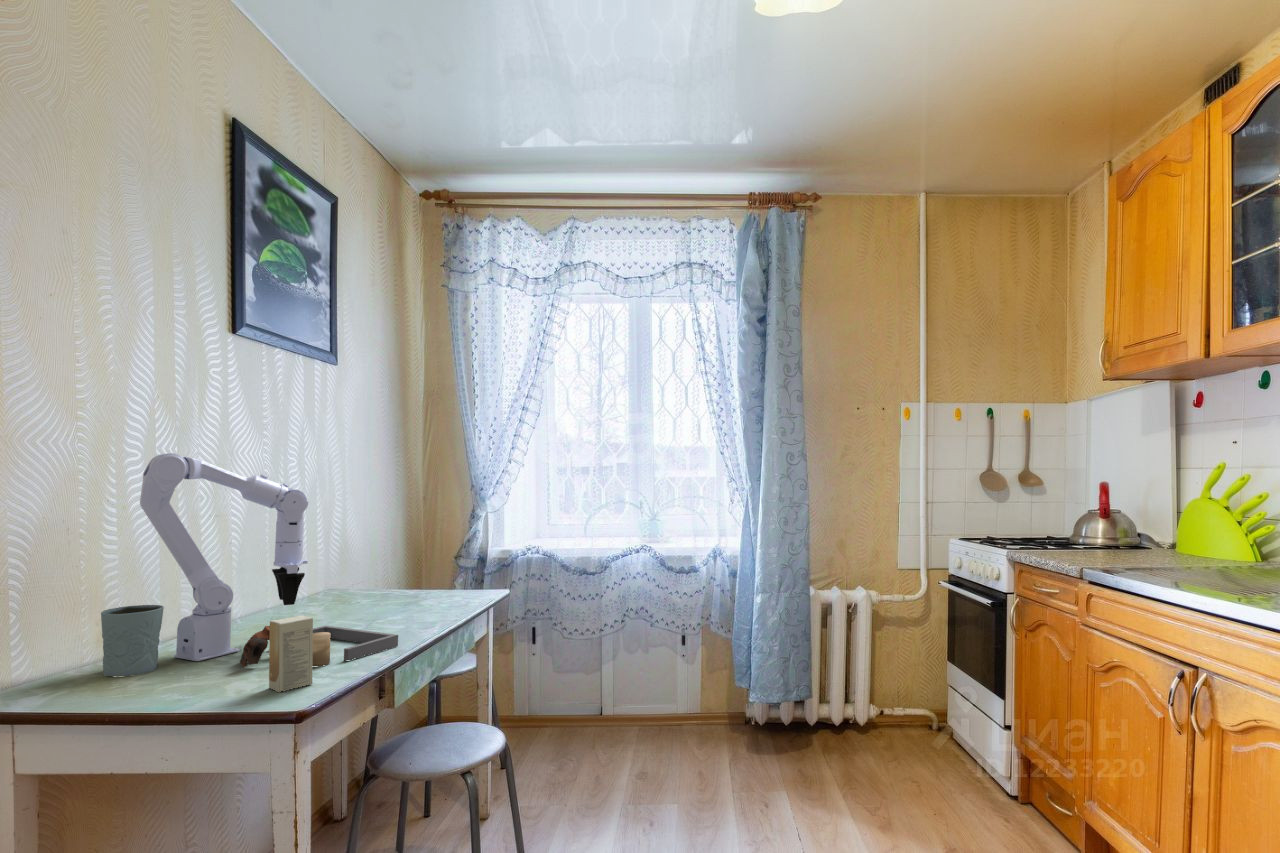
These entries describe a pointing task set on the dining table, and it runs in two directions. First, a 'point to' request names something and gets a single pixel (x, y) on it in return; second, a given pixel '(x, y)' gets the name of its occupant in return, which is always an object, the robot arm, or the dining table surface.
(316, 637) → the oak dowel
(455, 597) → the dining table surface
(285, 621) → the skincare box
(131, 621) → the grey green plant pot
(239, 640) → the dining table surface
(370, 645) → the frame
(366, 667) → the dining table surface
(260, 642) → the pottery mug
